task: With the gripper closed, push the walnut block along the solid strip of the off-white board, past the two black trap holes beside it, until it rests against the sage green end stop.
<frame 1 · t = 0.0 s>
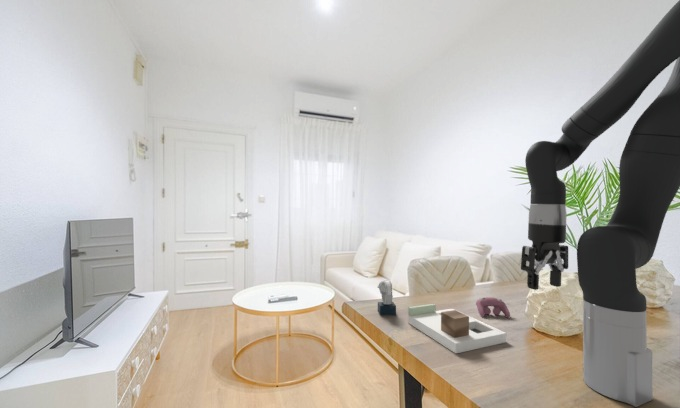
hand: (544, 287, 69), 17 cm above the table, tool pointing down, fingers open, 8 cm apart
video game controller: (492, 316, 96), on the table
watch: (386, 313, 97), on the table
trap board: (453, 331, 82), on the table
walnut block: (454, 332, 76), point 2 cm above the table, touching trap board
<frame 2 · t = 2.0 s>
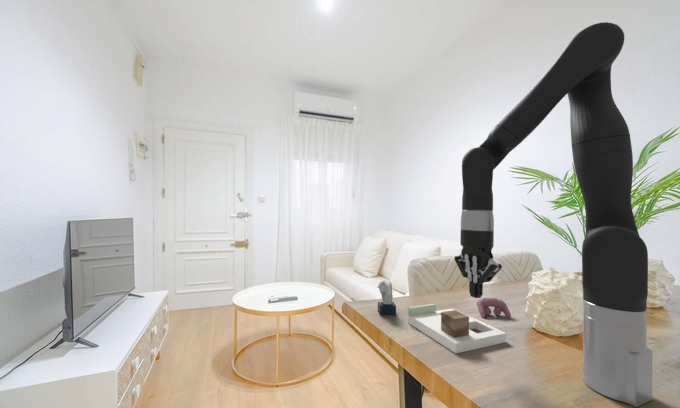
hand: (475, 296, 70), 14 cm above the table, tool pointing down, fingers closed
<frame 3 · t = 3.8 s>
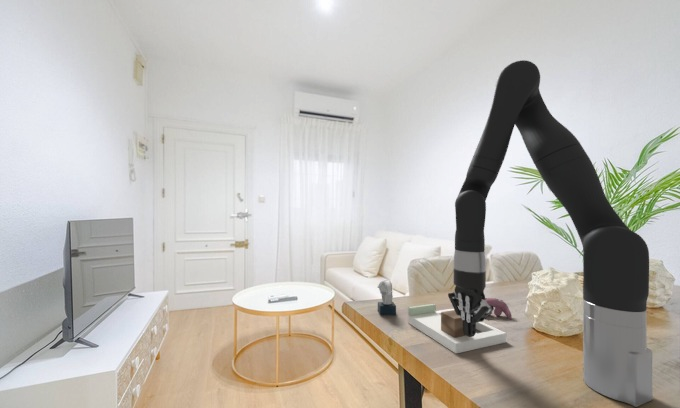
hand: (468, 335, 71), 4 cm above the table, tool pointing down, fingers closed
walnut block: (454, 332, 76), point 2 cm above the table, touching gripper, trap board
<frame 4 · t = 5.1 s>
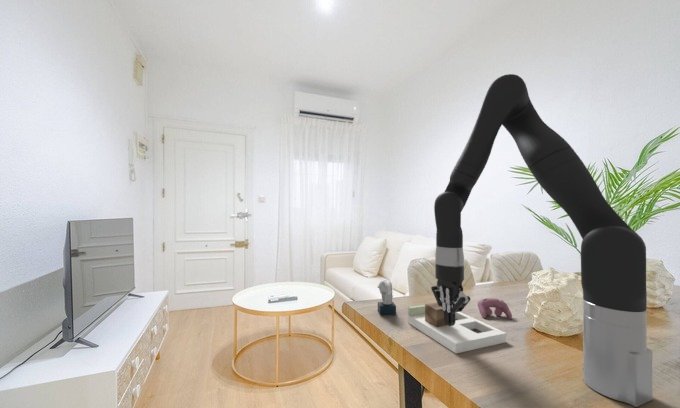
hand: (449, 324, 78), 4 cm above the table, tool pointing down, fingers closed
walnut block: (437, 322, 82), point 3 cm above the table, touching gripper
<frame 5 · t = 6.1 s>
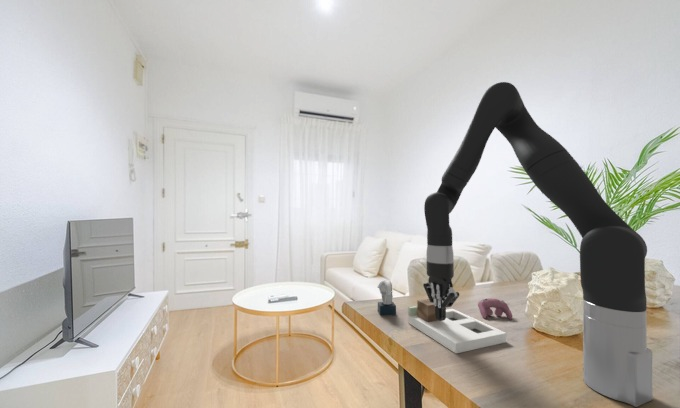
hand: (440, 319, 81), 4 cm above the table, tool pointing down, fingers closed
walnut block: (428, 318, 86), point 2 cm above the table, touching gripper, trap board
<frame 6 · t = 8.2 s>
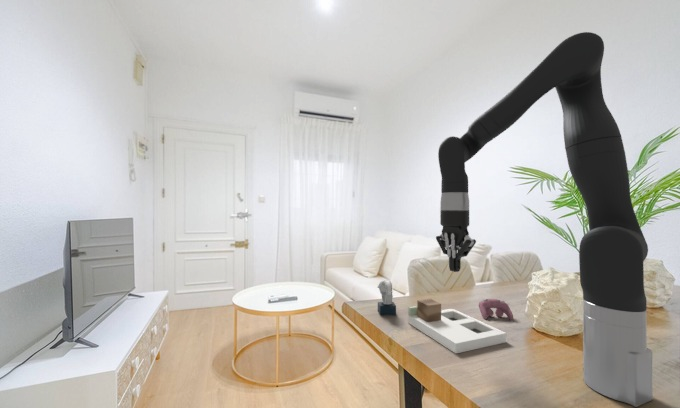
hand: (454, 271, 77), 19 cm above the table, tool pointing down, fingers closed
walnut block: (428, 318, 86), point 2 cm above the table, touching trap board
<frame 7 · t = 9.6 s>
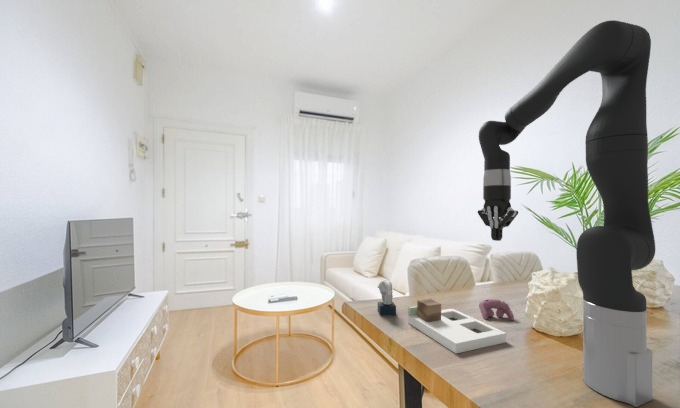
hand: (496, 240, 86), 27 cm above the table, tool pointing down, fingers closed
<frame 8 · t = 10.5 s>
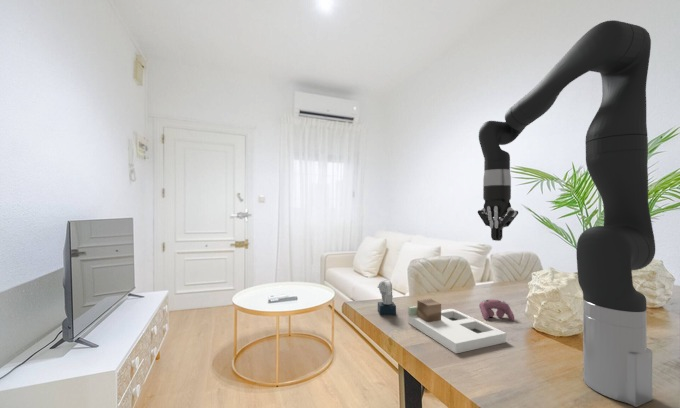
hand: (496, 240, 86), 27 cm above the table, tool pointing down, fingers closed
at the end: walnut block inside the target area on the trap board (0.2 cm from its centre), point 2.5 cm above the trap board's base; walnut block tilted 0°; walnut block moved 10.7 cm from its start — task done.
